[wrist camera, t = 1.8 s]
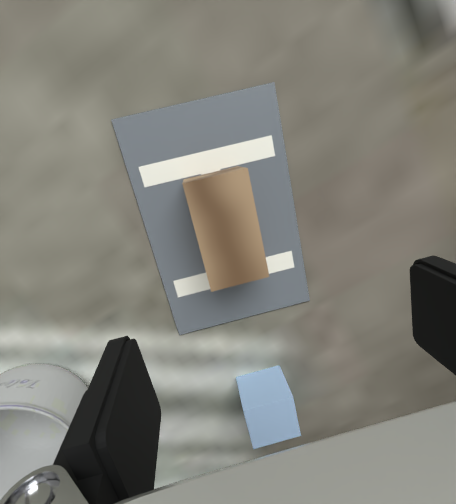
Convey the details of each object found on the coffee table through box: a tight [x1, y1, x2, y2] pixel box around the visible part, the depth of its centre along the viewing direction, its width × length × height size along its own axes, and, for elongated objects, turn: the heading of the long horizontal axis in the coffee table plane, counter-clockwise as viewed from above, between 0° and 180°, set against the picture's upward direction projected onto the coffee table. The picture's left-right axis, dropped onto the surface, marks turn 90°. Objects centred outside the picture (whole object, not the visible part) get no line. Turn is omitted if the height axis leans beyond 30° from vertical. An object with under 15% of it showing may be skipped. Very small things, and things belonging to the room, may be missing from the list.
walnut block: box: [182, 166, 269, 292], centre depth 27 cm, size 5×9×5 cm, turn 13°
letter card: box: [112, 82, 310, 335], centre depth 30 cm, size 14×21×1 cm, turn 13°
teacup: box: [0, 364, 88, 500], centre depth 29 cm, size 14×11×8 cm
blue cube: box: [236, 365, 301, 449], centre depth 34 cm, size 5×5×5 cm
